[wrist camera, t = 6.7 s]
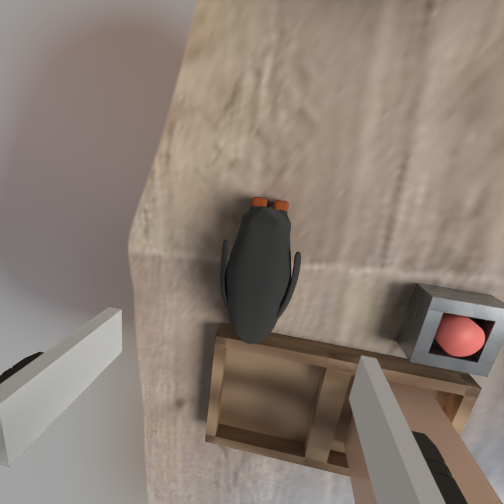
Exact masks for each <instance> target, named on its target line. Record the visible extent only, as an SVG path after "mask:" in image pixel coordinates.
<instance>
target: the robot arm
mask: <svg viewBox="0 0 504 504" xmlns="http://www.w3.org/2000/svg"><path fill="white" fill-rule="evenodd" d="M121 352H122V310H121V309H116V308H111V307H108V308H107V309H105V310H104V311H103V312H101V313H100V314H98V315H97V316H96V317H94V318H93V319H91V320H90V321H89V322H87V323H86V324H84V325H83V326H81V327H80V328H79V329H77V330H76V331H74V332H73V333H72V334H70V335H69V336H67V337H66V338H65V339H63V340H62V341H60V342H59V343H58V344H56V345H55V346H53V347H52V348H50V349H49V350H48V351H46V352H45V353H43V352H38V353H36V354H33V355H31V356H29V357H26V358H24V359H23V360H21V361H20V362H19V363H17V364H16V365H14V366H13V367H12V368H10V369H8V370H7V371H5V372H4V373H2V375H0V465H4V466H8V467H10V466H11V465H12V464H13V463H14V462H15V461H16V459H17V458H18V457H19V456H20V455H21V454H22V453H23V452H24V451H25V450H26V449H27V448H28V447H29V446H30V445H31V444H32V443H33V442H34V441H35V440H36V439H37V438H38V437H39V436H40V435H41V434H42V433H43V432H44V431H45V430H46V429H47V428H48V427H49V426H50V424H52V422H54V421H55V420H56V419H57V417H58V416H59V415H60V414H61V413H62V412H63V411H64V410H65V409H66V408H67V407H68V406H69V405H70V404H71V403H72V402H73V401H74V400H75V399H76V398H77V397H78V396H79V395H80V394H81V393H82V392H83V391H84V390H85V389H86V388H87V387H88V386H89V385H90V384H91V382H92V381H93V380H95V378H96V377H97V376H98V375H99V374H100V373H101V372H102V371H103V370H104V369H105V368H106V367H107V366H108V365H109V364H110V363H111V362H112V361H113V360H114V359H115V358H116V357H117V356H118V355H119V354H120V353H121ZM349 401H350V405H351V408H352V412H353V416H354V420H355V423H356V427H357V431H358V435H359V439H360V442H361V446H362V450H363V454H364V457H365V461H366V465H367V469H368V472H369V476H370V480H371V484H372V488H373V491H374V495H375V499H376V503H377V504H468V503H467V501H466V499H465V497H464V496H463V494H462V492H461V490H460V488H459V486H458V485H457V483H456V481H455V479H454V478H453V477H452V474H451V472H450V470H449V468H448V466H447V465H446V464H445V461H444V459H443V457H442V455H441V453H440V452H439V450H438V448H437V447H436V445H435V444H434V443H433V442H432V441H431V440H430V439H429V438H428V437H427V435H426V434H424V433H420V432H415V431H411V430H410V428H409V426H408V424H407V421H406V419H405V417H404V415H403V413H402V411H401V409H400V407H399V405H398V403H397V400H396V398H395V396H394V394H393V392H392V390H391V388H390V386H389V384H388V382H387V380H386V377H385V375H384V373H383V371H382V369H381V367H380V365H379V363H378V361H377V359H376V358H372V357H367V356H362V355H361V357H360V361H359V364H358V368H357V371H356V375H355V378H354V382H353V386H352V389H351V393H350V396H349Z"/></svg>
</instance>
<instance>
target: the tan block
mask: <svg viewBox="0 0 504 504" xmlns="http://www.w3.org/2000/svg"><path fill="white" fill-rule="evenodd" d="M387 382H388V384H389V386H390V388H391V390H392V392H393V394H394V396H395V398H396V400H397V403H398V405H399V407H400V409H401V411H402V413H403V415H404V417H405V419H406V421H407V424H408V426H409V428H410V430H411V431H415V432H420V433H424V434H426V435H427V437H428V438H429V439H430V440H431V441H432V442H433V443H434V444H435V445H436V447H437V448H438V450H439V452H440V453H441V455H442V457H443V459H444V461H445V464H446V465H447V466H448V468H449V470H450V472H451V474H452V477H453V478H454V479H455V481H456V483H457V485H458V486H459V488H460V490H461V492H462V494H463V496H464V497H465V499H466V501H467V503H468V504H503V503H502V502H501V500H500V499H499V497H498V495H497V494H496V492H495V491H494V489H493V488H492V486H491V485H490V483H489V481H488V480H487V478H486V477H485V475H484V474H483V472H482V470H481V469H480V467H479V466H478V464H477V463H476V461H475V460H474V458H473V456H472V455H471V453H470V452H469V450H468V449H467V447H466V445H465V444H464V442H463V441H462V439H461V438H460V436H459V435H458V433H457V431H456V430H455V428H454V427H453V425H452V424H451V422H450V420H449V419H448V417H447V416H446V414H445V413H444V411H443V410H442V408H441V406H440V405H439V403H438V402H437V400H436V399H435V397H434V395H433V394H432V392H431V391H430V390H429V389H424V388H419V387H414V386H409V385H404V384H399V383H394V382H389V381H387ZM344 447H345V452H346V457H347V462H348V468H349V473H350V478H351V483H352V489H353V494H354V499H355V504H377V503H376V499H375V495H374V491H373V488H372V484H371V480H370V476H369V472H368V469H367V465H366V461H365V457H364V454H363V450H362V446H361V442H360V439H359V435H358V431H357V427H356V423H355V420H354V416H353V414H352V417H351V421H350V424H349V428H348V431H347V434H346V438H345V441H344Z"/></svg>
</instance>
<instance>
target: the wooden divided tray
mask: <svg viewBox="0 0 504 504" xmlns="http://www.w3.org/2000/svg"><path fill="white" fill-rule="evenodd" d="M361 355H362V356H367V357H372V358H376V359H377V361H378V363H379V365H380V367H381V369H382V371H383V373H384V375H385V377H386V380H387V381H389V382H394V383H399V384H404V385H409V386H414V387H419V388H424V389H429V390H430V391H431V392H432V394H433V395H434V397H435V399H436V400H437V402H438V403H439V405H440V406H441V408H442V410H443V411H444V413H445V414H446V416H447V417H448V419H449V420H450V422H451V424H452V425H453V427H454V428H455V430H456V431H457V433H458V435H459V436H460V434H461V432H462V430H463V428H464V426H465V424H466V421H467V419H468V417H469V415H470V413H471V411H472V408H473V406H474V404H475V402H476V400H477V398H478V395H479V393H480V391H481V389H482V388H481V387H480V386H479V385H478V384H477V383H476V382H475V380H474V379H473V378H472V377H471V376H470V375H469V374H468V373H465V372H459V371H454V370H449V369H444V368H439V367H434V366H428V365H423V364H418V363H413V362H410V361H409V360H408V359H404V358H399V357H394V356H389V355H384V354H379V353H373V352H368V351H363V350H358V349H353V348H348V347H342V346H337V345H332V344H327V343H322V342H316V341H311V340H306V339H301V338H296V337H291V336H285V335H280V334H275V333H270V334H269V335H268V336H266V337H265V338H263V339H261V341H260V342H259V343H256V344H248V343H245V342H243V341H241V340H240V339H239V337H238V335H237V334H236V333H235V332H234V331H233V329H232V327H231V325H228V324H223V323H221V325H220V327H219V330H218V332H217V334H216V336H215V346H214V356H213V366H212V376H211V387H210V397H209V407H208V417H207V427H206V437H205V441H206V442H210V443H214V444H218V445H222V446H226V447H230V448H234V449H239V450H243V451H247V452H251V453H255V454H259V455H263V456H267V457H272V458H276V459H280V460H284V461H288V462H292V463H296V464H301V465H305V466H309V467H313V468H317V469H321V470H325V471H329V472H334V473H338V474H342V475H346V476H350V473H349V468H348V462H347V457H346V452H345V447H344V441H345V438H346V434H347V431H348V428H349V424H350V421H351V417H352V414H353V412H352V408H351V405H350V401H349V396H350V393H351V389H352V386H353V382H354V378H355V375H356V371H357V368H358V364H359V361H360V357H361Z"/></svg>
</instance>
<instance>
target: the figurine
mask: <svg viewBox="0 0 504 504" xmlns="http://www.w3.org/2000/svg"><path fill="white" fill-rule="evenodd" d="M266 205H267V200H266V199H265V198H260V197H254V198H253V199H252V206H251V208H250V210H249V211H248V212H247V213H246V214H244V216H243V218H242V222H241V226H240V230H239V233H238V236H237V239H236V241H235V244H234V247H233V250H232V252H231V255H230V258H229V261H228V265H227V269H226V274H225V268H226V259H227V252H228V241H227V240H224V242H223V248H222V256H221V273H220V282H221V294H222V298H223V301H224V304H225V306H226V308H227V311H228V316H229V321H230V325H231V327H232V329H233V331H234V332H235V333H236V334H237V335H238V337H239V339H240V340H241V341H243V342H245V343H248V344H256V343H259V342H260V341H261V339H263V338H265V337H266V336H268V335H269V334H270V332H271V331H272V330H273V328H274V326H275V324H276V322H277V320H278V318H279V317H280V316H281V314H282V313H283V312H284V310H285V309H286V307H287V305H288V303H289V301H290V299H291V297H292V295H293V292H294V289H295V286H296V283H297V280H298V276H299V271H300V264H301V253H300V252H297V253H296V254H295V258H294V266H293V273H292V277H291V251H290V229H291V223H290V221H289V218H288V215H287V210H288V206H289V204H288V202H287V201H281V200H276V201H275V202H274V205H273V208H274V209H273V208H270V207H266Z"/></svg>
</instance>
